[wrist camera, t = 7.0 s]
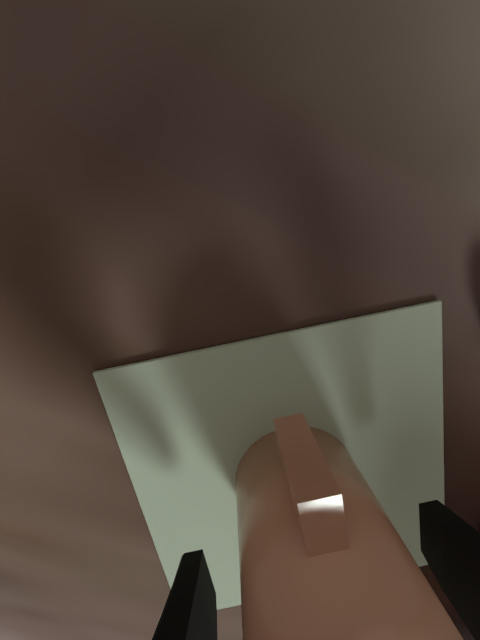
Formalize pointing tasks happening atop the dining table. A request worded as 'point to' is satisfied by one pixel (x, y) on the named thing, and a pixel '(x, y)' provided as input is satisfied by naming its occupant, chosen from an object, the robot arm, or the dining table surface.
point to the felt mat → (257, 421)
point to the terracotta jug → (323, 548)
